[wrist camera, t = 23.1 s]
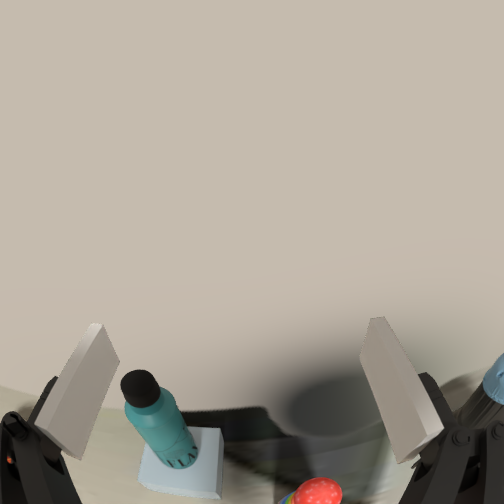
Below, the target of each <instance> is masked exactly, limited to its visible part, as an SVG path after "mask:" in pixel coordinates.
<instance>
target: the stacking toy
mask: <svg viewBox="0 0 504 504" xmlns="http://www.w3.org/2000/svg"><path fill="white" fill-rule="evenodd" d="M341 499H342V490H341V488H340V486H339V485H338V484H337V483H336V482H335V481H334V480H332V479H329V478H323V477H318V478H313V479H310V480H308V481H306V482H304V483H303V484H301V485H300V486H299V487H298V489H297V490H296V491H294V492H292V493H290V494H288V495H286V496H285V497H283V498H282V499H281V500H280V501H279V502H278V503H277V504H340V502H341Z"/></svg>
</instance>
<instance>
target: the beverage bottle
mask: <svg viewBox="0 0 504 504" xmlns="http://www.w3.org/2000/svg"><path fill="white" fill-rule="evenodd" d="M120 385H121V390H122V392H123V394H124V397H125V399H126V402H125V414H126V416H127V418H128V420H129V421H130V422H131V423H132V424H133V425H134V427H135V428H136V430H137V431H138V432H139V433H140V435H141V436H142V437H143V439H144V440H145V441H146V442H147V444H148V445H149V447H150V448H151V449H152V451H153V453H155V454H154V455H157V457H158V459H159V460H161V462H162V463H164V464H163V465H166V466H167V467H170V468H173V469H185V468H188V467H190V466H191V465H193V464H194V463H195V461H196V460H197V458H198V457H197V456H198V450H199V449H197V446H196V444H195V442H194V441H195V440H193V439H194V438H193V436H191V435H192V434H191V432H189V430H188V429H189V428H187V427H188V426H187V425H186V424H187V423H186V424H185V419H184V420H183V418H184V417H183V416H182V415H181V414H182V413H180V411H179V409H178V407H177V405H176V401H175V399H174V397H173V395H172V394H171V393H170V392H169V391H168V390H166V389H164V388H162V387H159V385H158V383H157V382H156V380H155V378H154V377H153V375H152V374H151V373H150V372H148V371H146V370H134V371H131V372H129V373H127V374H126V375H125V376H124V377H123V378H122V380H121V384H120Z"/></svg>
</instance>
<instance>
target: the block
mask: <svg viewBox="0 0 504 504" xmlns="http://www.w3.org/2000/svg"><path fill="white" fill-rule="evenodd" d="M187 428H189V429H188V430H189V432H191V434H192V435H191V436H193V438H194V439H193V440H195V441H194V442H195V444H196V446H197V449H199V450H198V456H197V457H198V458H197V460H196V461H195V463H194V464H193V465H191V466H190V467H188V468H185V469H173V468H170V467H167V466H166V465H163V464H164V463H162V462H161V460H159V459H158V457H157V455H154V454H155V453H153V451H152V449H151V448H150V447H149V445H148V444H147V442H146V443H145V448H144V452H143V456H142V461H141V465H140V469H139V474H138V479H137V481H138V482H140V483H141V484H142V485H144V486H145V487H146V488H148V489H149V490H152V491H157V492H162V493H168V494H174V495H181V496H189V497H197V498H208V499H221V494H222V473H223V454H224V440H223V437H222V433H221V430H220V428H202V427H187Z"/></svg>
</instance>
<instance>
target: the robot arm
mask: <svg viewBox="0 0 504 504" xmlns="http://www.w3.org/2000/svg"><path fill="white" fill-rule="evenodd" d="M359 359H360V361H361V364H362V366H363V369H364V371H365V374H366V376H367V379H368V381H369V384H370V387H371V389H372V392H373V394H374V397H375V400H376V402H377V405H378V408H379V411H380V413H381V416H382V419H383V422H384V425H385V428H386V431H387V433H388V436H389V439H390V442H391V445H392V448H393V452H394V455H395V458H396V461H397V464H400V463H403V462H406V461H409V460H411V459H413V458H415V457H416V456H417V455H418V454H420V457H421V458H420V459H419V460H418V461H417V462H416V463H415V464H413V466H412V467H411V468H412V469H413V468H415V467H416V469H415V471H414V473H413V476H412V478H411V480H410V482H409V484H408V486H407V488H406V490H405V492H404V494H403V496H402V498H401V500H400V502H399V504H504V353H503V354H502V355H501V356H500V357H499V358H498V359H497V360H496V362H495V363H494V364H493V366H492V367H491V368H490V369H489V370H488V371H487V373H486V374H485V376H484V378H483V381H482V382H481V384H480V385H479V386H478V388H477V389H476V390H475V392H474V393H473V394H472V396H471V397H470V398H469V399H468V401H467V402H466V403H465V404H464V406H463V407H461V408H460V409H458V410H456V411H454V412H453V413H452V412H451V410H450V408H449V406H448V404H447V402H446V400H445V398H444V397H443V394H442V393H441V391H440V390H439V387H438V385H437V383H436V382H435V380H434V379H433V378H432V377H431V376H430V375H429V374H427V372H425V373H421V374H417V373H416V371H415V369H414V367H413V365H412V364H411V362H410V360H409V358H408V356H407V354H406V353H405V351H404V349H403V347H402V346H401V344H400V342H399V341H398V339H397V337H396V335H395V334H394V332H393V330H392V329H391V327H390V325H389V324H388V322H387V321H386V319H385V317H379V318H371V319H370V323H369V326H368V330H367V334H366V337H365V340H364V344H363V347H362V350H361V354H360V357H359ZM119 363H120V361H119V359H118V357H117V355H116V352H115V350H114V348H113V346H112V344H111V341H110V339H109V337H108V335H107V332H106V330H105V328H104V325H103V324H93V323H92V324H91V325H90V327H89V328H88V330H87V331H86V333H85V335H84V336H83V338H82V339H81V341H80V342H79V344H78V345H77V347H76V349H75V350H74V352H73V354H72V355H71V357H70V359H69V360H68V362H67V363H66V365H65V367H64V369H63V370H62V372H61V374H60V375H59V377H56V376H55V377H54V378H53V379H52V380H50V381H49V382H48V384H47V385H46V387H45V389H44V392H43V393H42V394H41V396H40V399H39V400H38V402H37V404H36V405H35V407H34V409H33V411H32V413H31V415H30V417H29V419H28V421H27V422H26V421H25V420H24V419H23V418H22V417H21V416H20V415H19V414H18V413H17V412H14V411H12V412H8V413H7V414H5V415H4V417H3V418H2V421H1V423H0V504H82V502H81V500H80V498H79V496H78V494H77V492H76V489H75V487H74V485H73V482H72V480H71V477H70V475H69V472H68V469H67V467H66V464H65V461H64V458H63V456H62V455H61V454H60V453H61V450H63V451H64V452H65V453H66V454H67V455H69V456H71V457H74V458H76V459H79V460H81V459H82V456H83V454H84V451H85V448H86V445H87V442H88V439H89V436H90V434H91V431H92V428H93V426H94V423H95V420H96V418H97V415H98V413H99V410H100V408H101V405H102V403H103V400H104V398H105V395H106V393H107V390H108V388H109V386H110V383H111V381H112V379H113V376H114V374H115V372H116V369H117V367H118V365H119ZM7 456H8V457H9V458H10V459H11V463H9V462H8V461H7Z"/></svg>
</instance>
